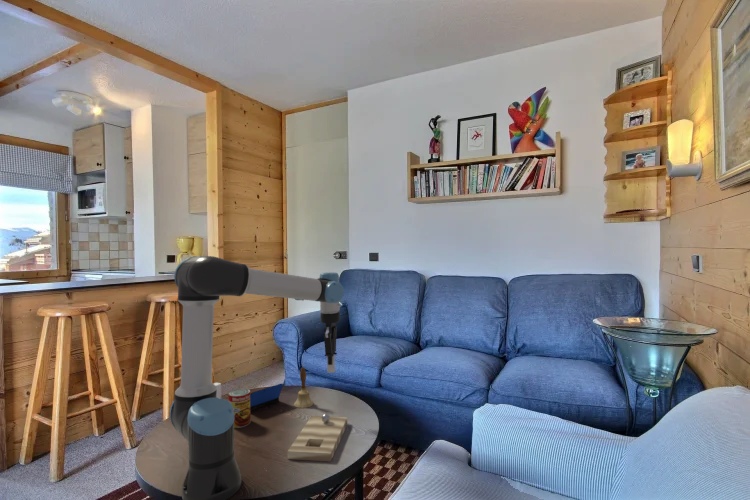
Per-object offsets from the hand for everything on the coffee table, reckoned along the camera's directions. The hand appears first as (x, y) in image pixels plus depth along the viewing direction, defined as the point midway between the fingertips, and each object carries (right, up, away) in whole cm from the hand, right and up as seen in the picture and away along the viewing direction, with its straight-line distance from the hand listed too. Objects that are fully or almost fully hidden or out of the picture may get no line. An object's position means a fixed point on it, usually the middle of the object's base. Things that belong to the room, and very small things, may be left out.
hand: (331, 372), depth 150 cm
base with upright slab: (-49, -19, +4) cm, 53 cm away
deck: (-2, -18, -17) cm, 25 cm away
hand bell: (-13, -19, +15) cm, 27 cm away
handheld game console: (-32, -19, +15) cm, 40 cm away
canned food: (-35, -19, -3) cm, 40 cm away
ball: (-1, -14, -9) cm, 17 cm away
